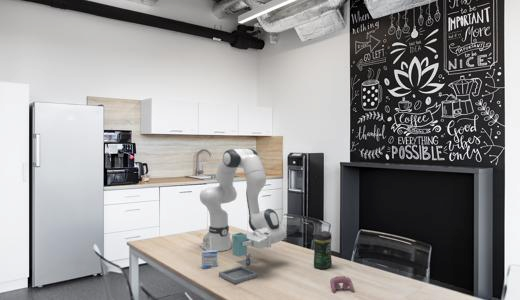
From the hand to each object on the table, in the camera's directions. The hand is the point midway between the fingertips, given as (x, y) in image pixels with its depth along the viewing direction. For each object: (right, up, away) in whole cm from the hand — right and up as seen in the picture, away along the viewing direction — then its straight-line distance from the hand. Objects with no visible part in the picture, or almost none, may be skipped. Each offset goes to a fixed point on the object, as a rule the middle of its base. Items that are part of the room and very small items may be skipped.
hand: (238, 242), depth 176 cm
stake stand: (+4, -17, +20) cm, 27 cm away
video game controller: (+47, -17, -18) cm, 53 cm away
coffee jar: (+44, -16, +13) cm, 49 cm away
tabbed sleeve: (+1, -6, +1) cm, 6 cm away
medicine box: (-16, -17, +15) cm, 28 cm away
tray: (0, -17, 0) cm, 17 cm away
